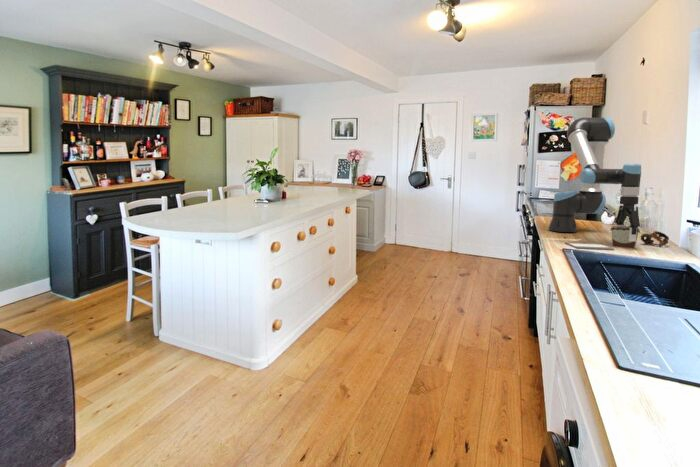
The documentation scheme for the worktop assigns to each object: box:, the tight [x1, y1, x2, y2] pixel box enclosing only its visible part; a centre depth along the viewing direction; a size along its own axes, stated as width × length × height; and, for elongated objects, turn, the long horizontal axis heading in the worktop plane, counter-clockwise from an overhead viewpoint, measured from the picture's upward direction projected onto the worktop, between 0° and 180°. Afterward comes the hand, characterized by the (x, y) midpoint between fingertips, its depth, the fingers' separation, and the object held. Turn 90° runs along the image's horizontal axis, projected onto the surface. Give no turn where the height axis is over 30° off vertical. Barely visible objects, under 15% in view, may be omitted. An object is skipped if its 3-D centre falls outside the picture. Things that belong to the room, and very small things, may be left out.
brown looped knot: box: [640, 230, 670, 248], centre depth 217 cm, size 12×9×8 cm
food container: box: [609, 225, 641, 250], centre depth 210 cm, size 12×6×10 cm, turn 47°
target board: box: [564, 242, 615, 251], centre depth 210 cm, size 18×16×1 cm
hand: (625, 239), depth 210 cm, fingers open, 13 cm apart
